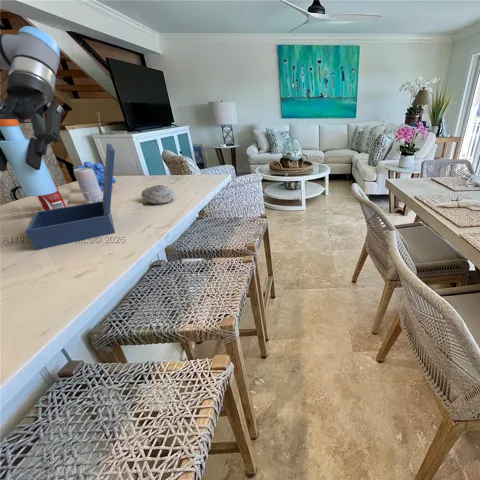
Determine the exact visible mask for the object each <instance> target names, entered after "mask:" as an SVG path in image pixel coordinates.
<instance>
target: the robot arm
mask: <svg viewBox="0 0 480 480" xmlns="http://www.w3.org/2000/svg"><path fill="white" fill-rule="evenodd" d="M60 54H61V49H60V46H59V43H58V42H57V41H56V40H55V39H54V38H53V37H52V36H51V35H50V34H49V33H47V32H46V31H44V30H43V29H40V28H38V27H36V26H35V27H34V26H32V25H31V26H29V25H24V26H22V27H21V28H19V30H18V31H17V33H16V34H10V33H9V34H8V33H0V70H3V71H4V70H6V71H8V76H7V80H6V83H5V92H6V94H7V95H6V97H5V98H4V99H3V101H1V102H0V119H17V120H18V122H19V124H20V125H21V124H24V123H25V121H26V120H28V119H30V121H31V127H32V130H33V133H32V134H31V135H32V136H33V137H30V138H29V139H30V141H29V146H28V152H27V157H26V162H25V163H26V164H28V165H29V166H31V167H32V168H34V169H35V170H40V166H41V161H42V158H43V156H46V154H47V150H48V146H49V145H50V143H52V142H53V143H58V142H60V135H61V125H62V124H61V123H62V116H63V115H64V113H65V109H64V108H63V107H62V106H61V104H60V103H58V101H56V100H54V91H55V86H56V80H57V73H58V69H59V65H60V63H61V59H60V58H61V55H60ZM45 114H46V117H45ZM2 140H6V139H5V137H4V135H3V133H2V132H1V130H0V141H2ZM8 164H9V162H8V160H7V159H6V157H5V155H4V153H3V151H2V149H1V147H0V172H6V171H7V167H8Z"/></svg>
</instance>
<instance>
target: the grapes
mask: <svg viewBox="0 0 480 480" xmlns="http://www.w3.org/2000/svg"><path fill="white" fill-rule="evenodd" d="M82 164H83V165H77V167H76V169H79V168H92V169H93V171H94V173H95V176H96V178H97V181H98V183H99V186H100V189H101V191H102V192H103V191H104V177H105V166H104V165H103V164H102V163H100V162H95V163H92V162H90V161H84V162H83V163H82ZM116 182H117V180H116V178H115V177H114V176H113V180H112V189H113V188H114V186H113V184H116Z"/></svg>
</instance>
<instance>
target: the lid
mask: <svg viewBox="0 0 480 480" xmlns="http://www.w3.org/2000/svg"><path fill="white" fill-rule="evenodd" d="M115 151H116V150H115V148H114V147H113V144H111V143H106V151H105V166H104V169H105V177H104V190H103V191H102V194H103V202H104V209H105V214H110V213H111V205H112V204H111V203H112V191H113V188H112V185H113V183H112V180H113V177H114V166H115V165H114V164H115V156H116V155H115V154H116V153H115Z"/></svg>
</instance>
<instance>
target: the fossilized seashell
mask: <svg viewBox="0 0 480 480" xmlns="http://www.w3.org/2000/svg"><path fill="white" fill-rule="evenodd" d="M141 198H142V199H143V200H144V201H145V202H147V203H150V204H153V205H164V204H169V203H171V202H172V201H173V200H175V198H176V195H175V193H174V191H172V190H171V189H170V188H169V187H168V186H165V185H162V184H158V185H157V184H156V185H153V186H150V187H146V188H145V189H143V190H142V191H141Z"/></svg>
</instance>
